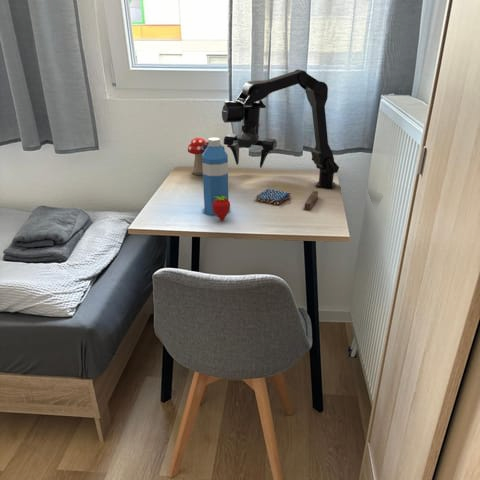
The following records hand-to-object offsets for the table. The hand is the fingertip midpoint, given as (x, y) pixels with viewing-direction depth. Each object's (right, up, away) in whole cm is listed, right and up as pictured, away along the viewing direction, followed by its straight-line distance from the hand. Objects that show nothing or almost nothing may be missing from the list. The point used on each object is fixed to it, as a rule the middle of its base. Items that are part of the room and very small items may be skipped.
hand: (249, 165), depth 181 cm
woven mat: (+9, -11, +5) cm, 15 cm away
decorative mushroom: (-21, +7, +32) cm, 39 cm away
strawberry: (-10, -23, -13) cm, 28 cm away
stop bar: (+23, -14, +1) cm, 27 cm away
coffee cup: (-15, +1, +24) cm, 28 cm away
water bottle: (-12, -18, -5) cm, 22 cm away
